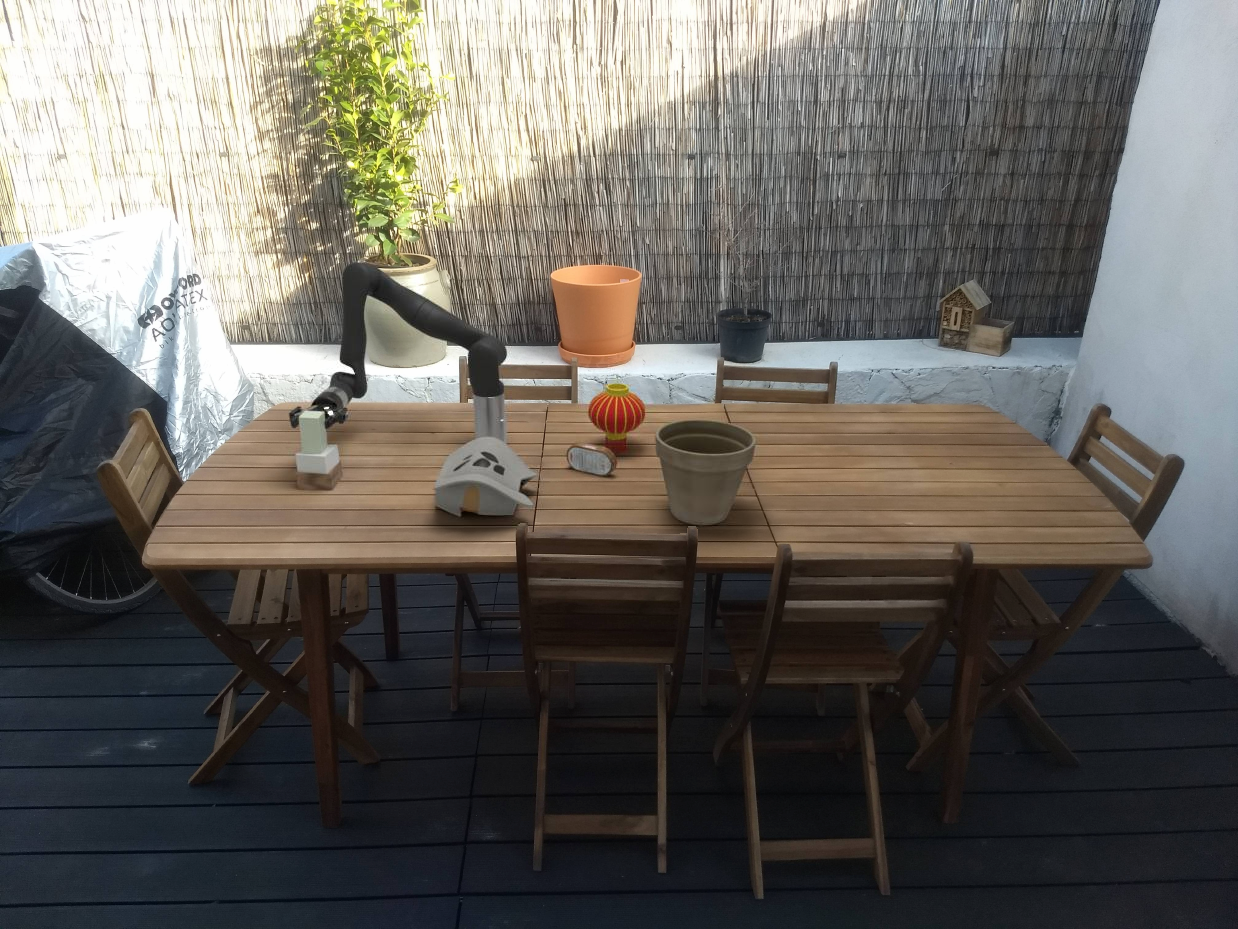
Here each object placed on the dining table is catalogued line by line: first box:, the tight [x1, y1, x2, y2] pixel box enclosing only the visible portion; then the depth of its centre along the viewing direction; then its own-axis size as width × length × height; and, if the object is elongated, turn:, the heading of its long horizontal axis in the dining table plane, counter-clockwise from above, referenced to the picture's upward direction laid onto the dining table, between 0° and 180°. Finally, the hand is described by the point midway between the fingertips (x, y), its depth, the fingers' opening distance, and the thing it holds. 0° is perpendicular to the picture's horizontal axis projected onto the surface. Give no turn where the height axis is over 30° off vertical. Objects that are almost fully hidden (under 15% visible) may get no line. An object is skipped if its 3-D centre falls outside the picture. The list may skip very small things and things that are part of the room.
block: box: [298, 411, 328, 454], centre depth 211 cm, size 5×5×10 cm
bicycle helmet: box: [432, 437, 540, 518], centre depth 205 cm, size 28×26×16 cm
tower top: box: [294, 443, 340, 474], centre depth 214 cm, size 8×8×5 cm
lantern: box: [587, 353, 646, 454], centre depth 237 cm, size 17×17×30 cm
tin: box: [565, 441, 618, 477], centre depth 226 cm, size 15×3×8 cm, turn 65°
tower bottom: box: [295, 459, 344, 491], centre depth 216 cm, size 9×9×5 cm
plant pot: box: [654, 418, 757, 526], centre depth 202 cm, size 25×25×22 cm
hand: (309, 425), depth 208 cm, fingers open, 8 cm apart
